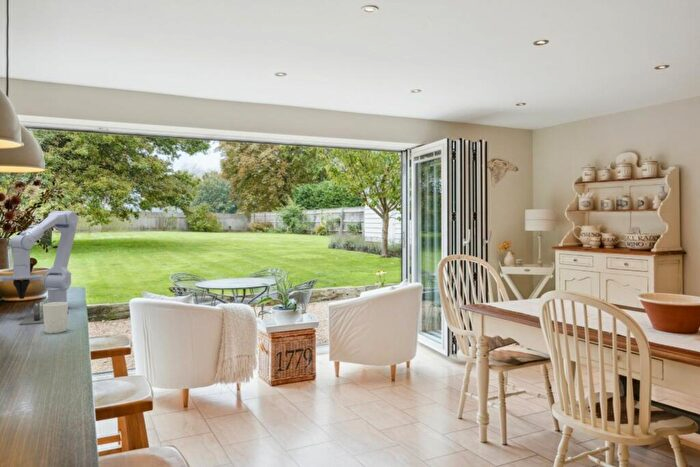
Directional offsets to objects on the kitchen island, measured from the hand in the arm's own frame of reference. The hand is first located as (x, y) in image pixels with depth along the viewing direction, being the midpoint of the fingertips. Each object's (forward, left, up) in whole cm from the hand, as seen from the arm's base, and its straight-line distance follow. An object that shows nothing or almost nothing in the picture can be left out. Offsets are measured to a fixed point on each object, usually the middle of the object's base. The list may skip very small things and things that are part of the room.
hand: (21, 298), depth 203 cm
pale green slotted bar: (+1, +7, -7) cm, 10 cm away
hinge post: (+9, +7, -8) cm, 14 cm away
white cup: (+30, +16, -8) cm, 35 cm away
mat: (+3, +9, -8) cm, 12 cm away
